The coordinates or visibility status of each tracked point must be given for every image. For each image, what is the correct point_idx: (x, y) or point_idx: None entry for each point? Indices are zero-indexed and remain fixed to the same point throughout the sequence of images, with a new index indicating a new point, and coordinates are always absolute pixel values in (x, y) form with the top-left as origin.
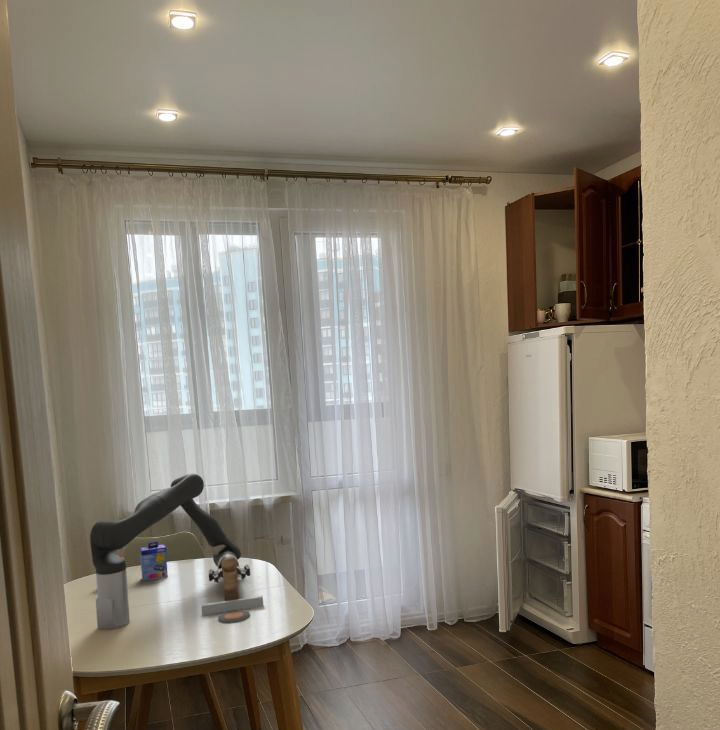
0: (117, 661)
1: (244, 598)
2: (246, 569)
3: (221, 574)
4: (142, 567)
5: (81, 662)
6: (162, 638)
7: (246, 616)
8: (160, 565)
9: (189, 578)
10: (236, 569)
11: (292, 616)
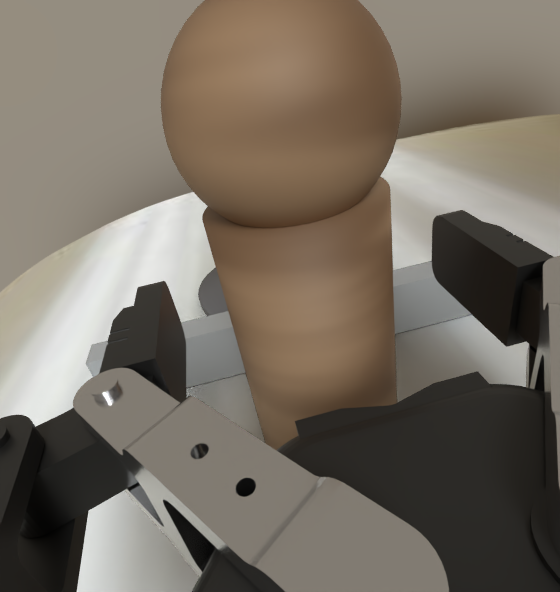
0: (508, 132)
1: (208, 329)
2: (34, 470)
3: (535, 387)
4: None
5: None
6: (483, 181)
7: (213, 271)
8: None
9: None
10: (208, 224)
11: (43, 293)
